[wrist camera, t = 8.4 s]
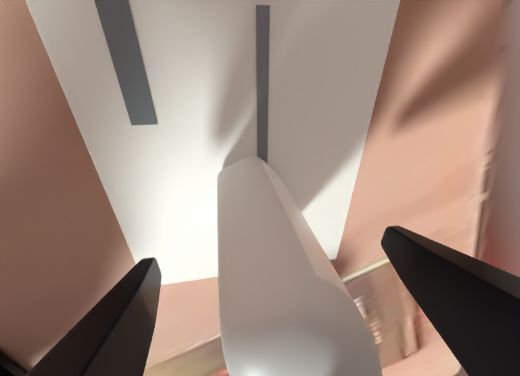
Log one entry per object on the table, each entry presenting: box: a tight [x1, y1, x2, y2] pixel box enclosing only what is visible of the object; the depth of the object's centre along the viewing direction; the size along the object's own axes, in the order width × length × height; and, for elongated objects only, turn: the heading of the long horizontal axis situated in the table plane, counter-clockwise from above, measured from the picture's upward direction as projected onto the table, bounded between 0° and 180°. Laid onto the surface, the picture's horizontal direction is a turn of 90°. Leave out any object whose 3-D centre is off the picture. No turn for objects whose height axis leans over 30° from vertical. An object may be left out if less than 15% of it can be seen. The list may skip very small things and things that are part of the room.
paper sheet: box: [25, 0, 400, 285], centre depth 10 cm, size 18×13×1 cm
